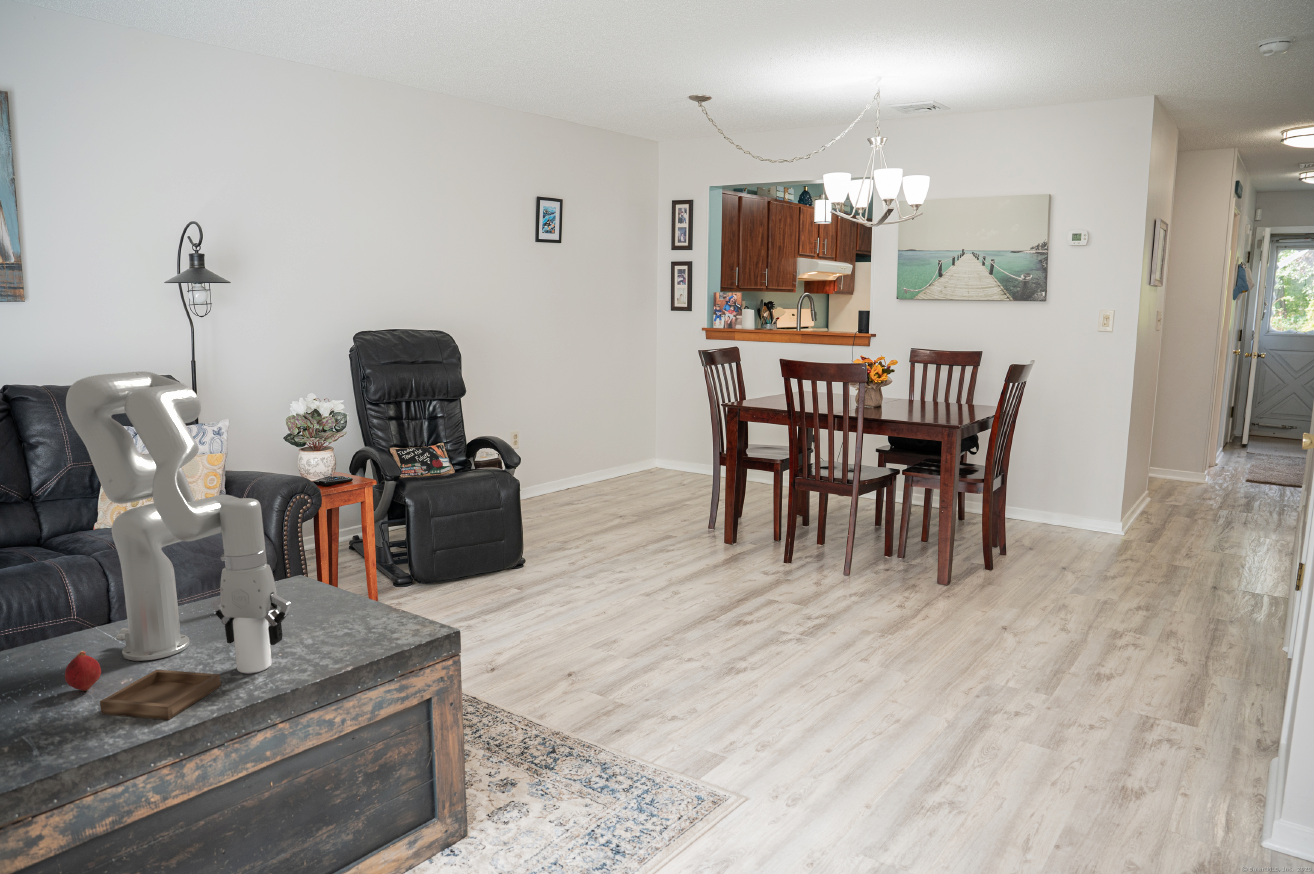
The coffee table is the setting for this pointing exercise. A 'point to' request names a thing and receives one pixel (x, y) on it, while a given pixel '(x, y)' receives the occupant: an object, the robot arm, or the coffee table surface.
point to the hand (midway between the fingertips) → (254, 641)
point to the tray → (160, 694)
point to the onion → (82, 672)
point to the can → (252, 645)
